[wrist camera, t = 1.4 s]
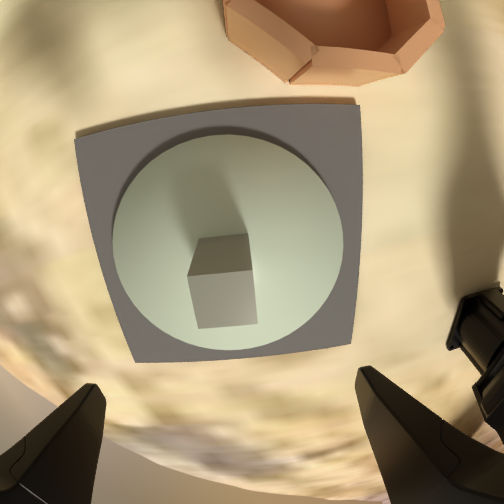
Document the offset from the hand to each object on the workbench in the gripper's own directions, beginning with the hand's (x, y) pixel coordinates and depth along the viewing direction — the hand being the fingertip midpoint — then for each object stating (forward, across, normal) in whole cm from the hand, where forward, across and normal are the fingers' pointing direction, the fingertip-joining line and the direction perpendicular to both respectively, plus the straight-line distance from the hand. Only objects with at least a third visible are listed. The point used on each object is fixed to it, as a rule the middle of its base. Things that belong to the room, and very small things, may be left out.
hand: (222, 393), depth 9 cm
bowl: (+12, -7, -16) cm, 21 cm away
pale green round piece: (+11, 0, 0) cm, 11 cm away
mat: (+12, 0, 0) cm, 12 cm away
